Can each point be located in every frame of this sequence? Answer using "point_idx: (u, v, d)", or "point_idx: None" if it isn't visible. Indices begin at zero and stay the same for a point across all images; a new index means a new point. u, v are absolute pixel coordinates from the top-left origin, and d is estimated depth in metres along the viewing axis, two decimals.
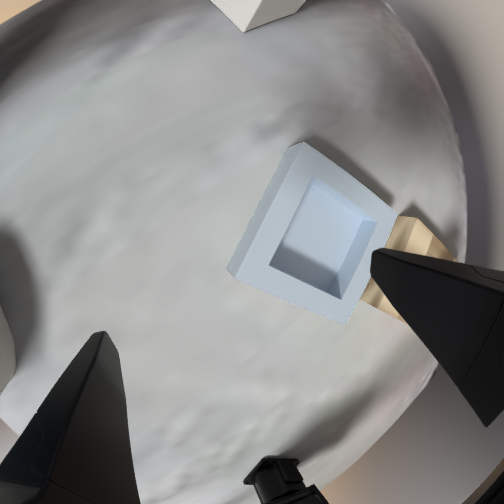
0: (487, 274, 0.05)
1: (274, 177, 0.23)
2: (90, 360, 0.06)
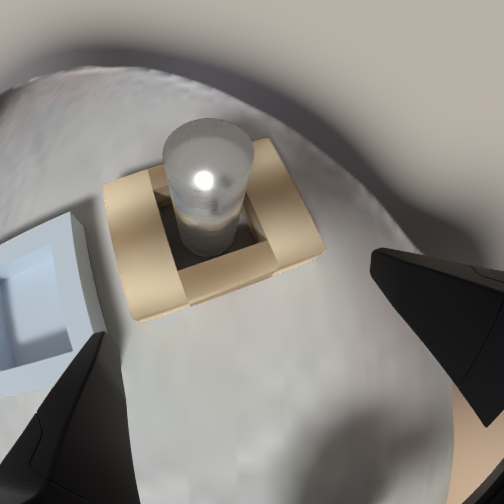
0: (487, 274, 0.05)
1: None
2: (90, 360, 0.06)
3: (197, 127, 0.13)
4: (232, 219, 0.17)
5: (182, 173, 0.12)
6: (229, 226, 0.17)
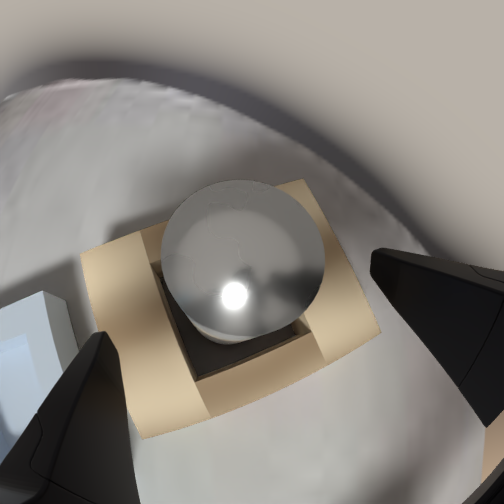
0: (487, 274, 0.05)
1: None
2: (90, 360, 0.06)
3: (220, 199, 0.08)
4: None
5: (202, 305, 0.07)
6: None
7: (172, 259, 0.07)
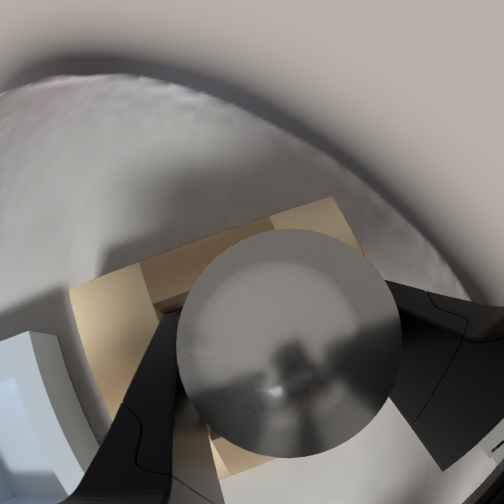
0: (445, 305, 0.05)
1: None
2: (174, 340, 0.06)
3: (263, 263, 0.05)
4: None
5: (245, 426, 0.04)
6: None
7: (195, 363, 0.04)
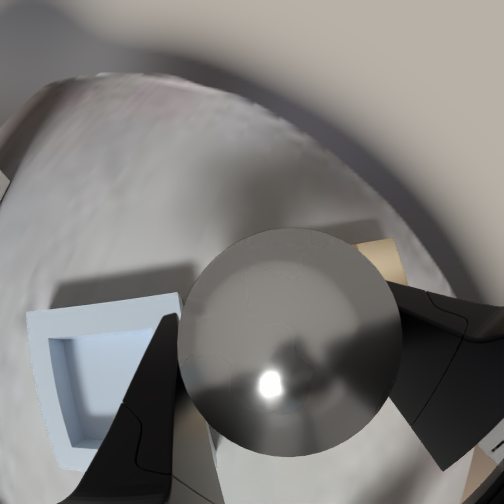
0: (445, 305, 0.05)
1: None
2: (173, 340, 0.06)
3: (264, 262, 0.05)
4: None
5: (246, 425, 0.04)
6: None
7: (196, 362, 0.04)
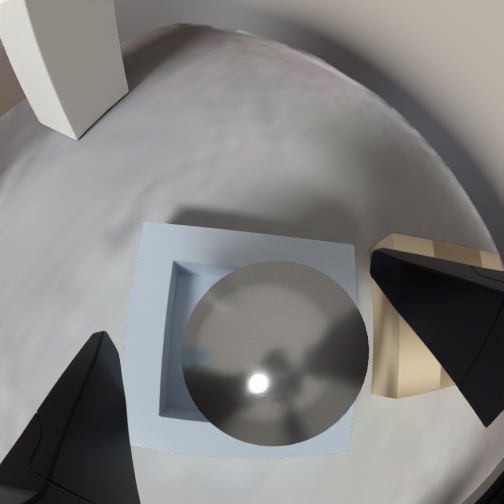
0: (487, 274, 0.05)
1: None
2: (90, 360, 0.06)
3: (250, 291, 0.06)
4: None
5: (235, 420, 0.05)
6: None
7: (196, 370, 0.06)
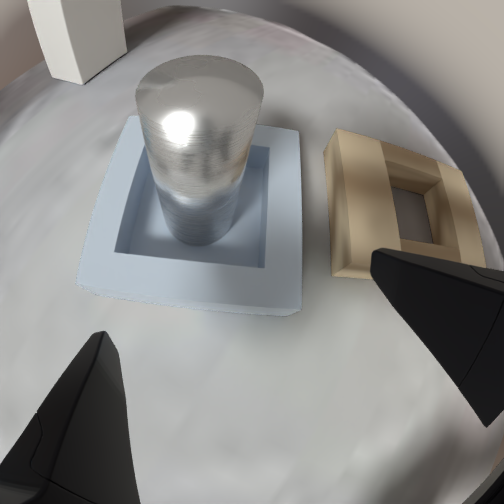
0: (487, 274, 0.05)
1: None
2: (90, 360, 0.06)
3: (186, 63, 0.09)
4: (230, 190, 0.12)
5: (160, 111, 0.08)
6: (226, 201, 0.13)
7: (144, 90, 0.08)
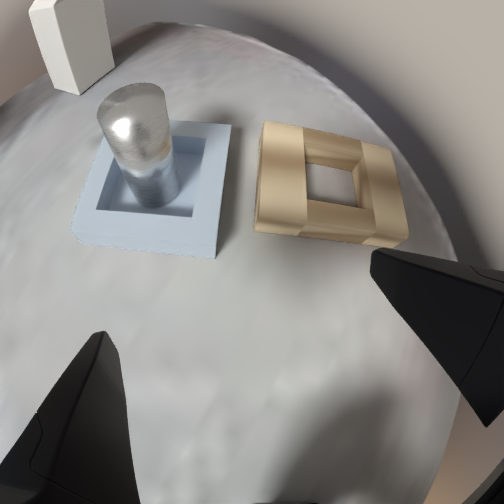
0: (487, 274, 0.05)
1: None
2: (90, 360, 0.06)
3: (127, 89, 0.14)
4: (159, 164, 0.18)
5: (107, 120, 0.14)
6: (159, 172, 0.19)
7: (102, 109, 0.14)
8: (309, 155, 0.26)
